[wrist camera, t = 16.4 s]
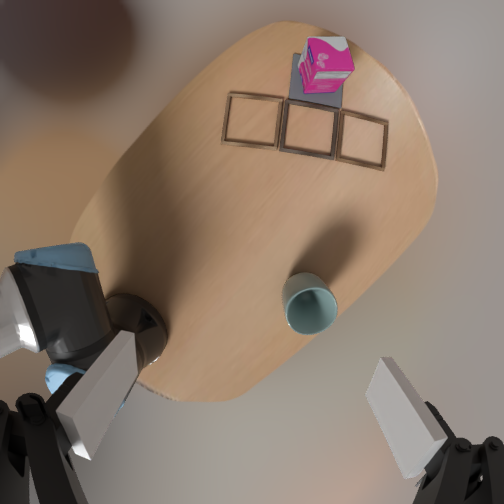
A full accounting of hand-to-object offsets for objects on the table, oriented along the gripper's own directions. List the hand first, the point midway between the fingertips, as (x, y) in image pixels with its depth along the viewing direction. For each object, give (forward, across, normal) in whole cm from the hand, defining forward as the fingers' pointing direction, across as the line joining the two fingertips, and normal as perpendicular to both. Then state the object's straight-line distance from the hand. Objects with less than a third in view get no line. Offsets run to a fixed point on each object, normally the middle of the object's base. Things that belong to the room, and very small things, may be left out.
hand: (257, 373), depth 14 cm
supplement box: (+34, +7, +30) cm, 46 cm away
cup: (+35, +9, -7) cm, 37 cm away
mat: (+35, +7, +30) cm, 46 cm away
